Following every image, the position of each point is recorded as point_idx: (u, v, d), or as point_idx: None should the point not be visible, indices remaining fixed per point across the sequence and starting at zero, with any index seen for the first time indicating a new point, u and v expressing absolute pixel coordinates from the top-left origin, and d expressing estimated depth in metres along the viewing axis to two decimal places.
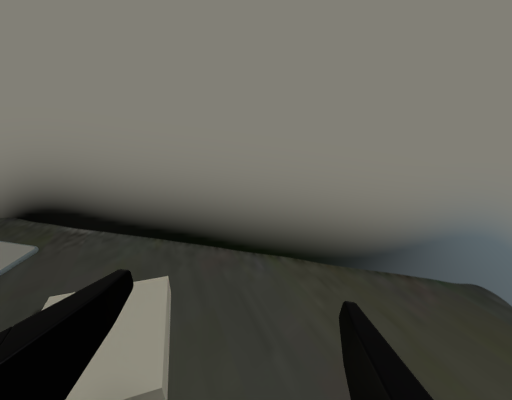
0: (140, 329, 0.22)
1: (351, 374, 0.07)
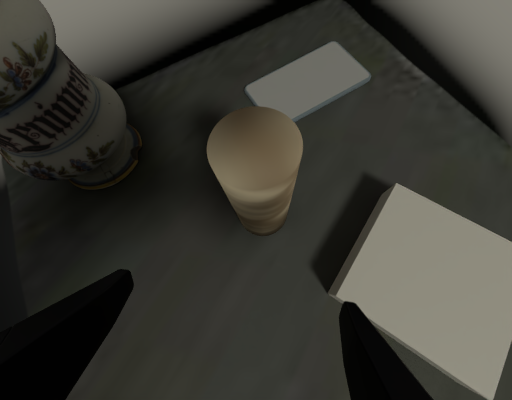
0: (484, 310, 0.17)
1: (351, 374, 0.07)
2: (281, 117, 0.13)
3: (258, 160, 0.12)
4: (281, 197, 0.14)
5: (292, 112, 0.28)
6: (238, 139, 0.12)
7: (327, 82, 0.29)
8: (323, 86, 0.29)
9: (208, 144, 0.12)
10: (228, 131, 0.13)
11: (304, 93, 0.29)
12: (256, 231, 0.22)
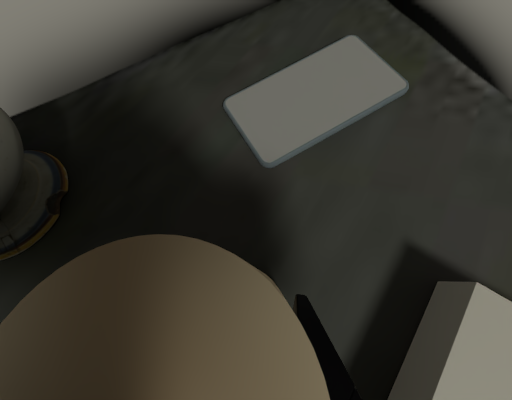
0: None
1: None
2: (251, 290, 0.03)
3: None
4: None
5: (292, 141, 0.19)
6: (73, 398, 0.03)
7: (344, 95, 0.20)
8: (338, 101, 0.20)
9: None
10: (45, 347, 0.03)
11: (310, 111, 0.19)
12: None
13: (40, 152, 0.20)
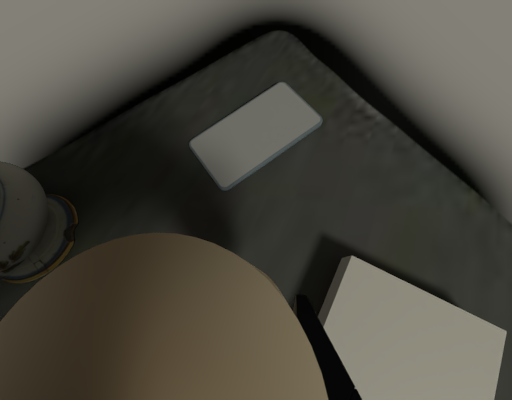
0: None
1: None
2: (249, 288, 0.03)
3: None
4: None
5: (241, 169, 0.26)
6: (73, 394, 0.03)
7: (277, 130, 0.27)
8: (273, 136, 0.27)
9: None
10: (44, 344, 0.03)
11: (253, 145, 0.27)
12: None
13: (52, 195, 0.26)
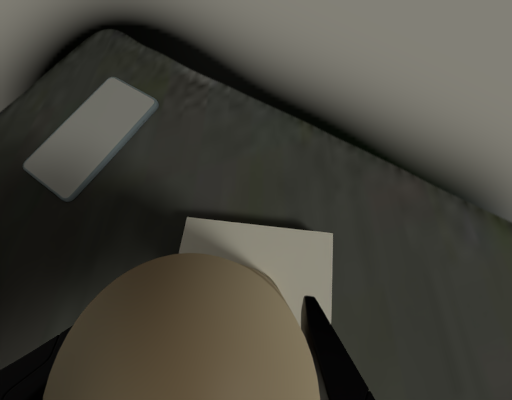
0: (299, 321, 0.16)
1: None
2: (260, 295, 0.05)
3: None
4: None
5: (82, 174, 0.24)
6: (136, 371, 0.04)
7: (113, 125, 0.26)
8: (110, 131, 0.26)
9: (50, 383, 0.04)
10: (111, 336, 0.05)
11: (91, 146, 0.25)
12: None
13: None
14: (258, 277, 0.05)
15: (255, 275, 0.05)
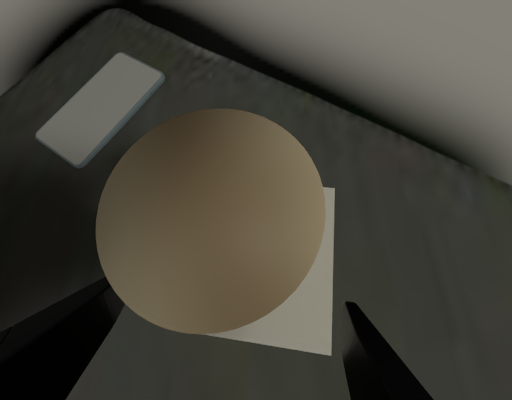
0: None
1: (351, 374, 0.07)
2: (274, 134, 0.06)
3: (214, 244, 0.05)
4: None
5: (92, 142, 0.25)
6: (173, 188, 0.05)
7: (121, 97, 0.27)
8: (118, 102, 0.26)
9: (103, 199, 0.05)
10: (151, 167, 0.05)
11: (101, 117, 0.26)
12: None
13: None
14: (272, 122, 0.06)
15: (270, 121, 0.06)
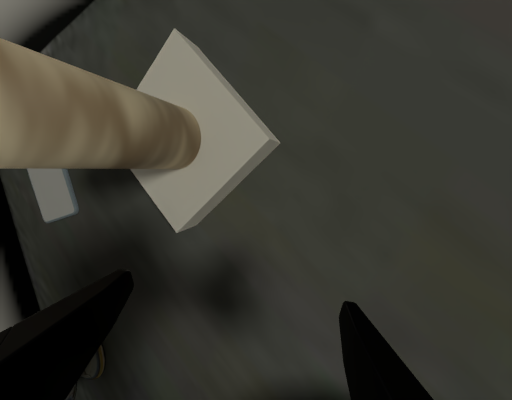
0: (206, 108, 0.18)
1: (351, 374, 0.07)
2: None
3: None
4: (42, 107, 0.09)
5: (65, 191, 0.30)
6: None
7: None
8: None
9: None
10: None
11: (51, 173, 0.31)
12: (174, 162, 0.17)
13: None
14: None
15: None
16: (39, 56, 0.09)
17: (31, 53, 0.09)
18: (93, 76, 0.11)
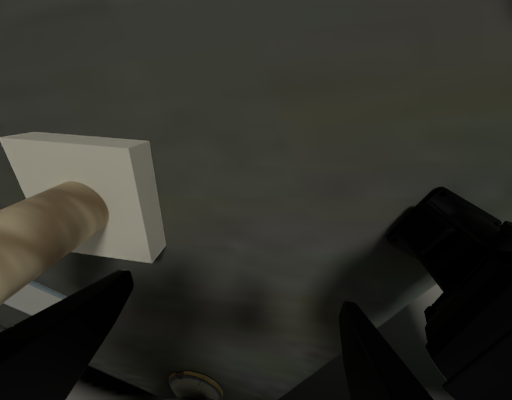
0: (75, 168, 0.20)
1: (351, 374, 0.07)
2: None
3: None
4: None
5: None
6: None
7: (33, 295, 0.33)
8: (38, 296, 0.33)
9: None
10: None
11: None
12: (91, 223, 0.19)
13: None
14: None
15: None
16: None
17: None
18: None
